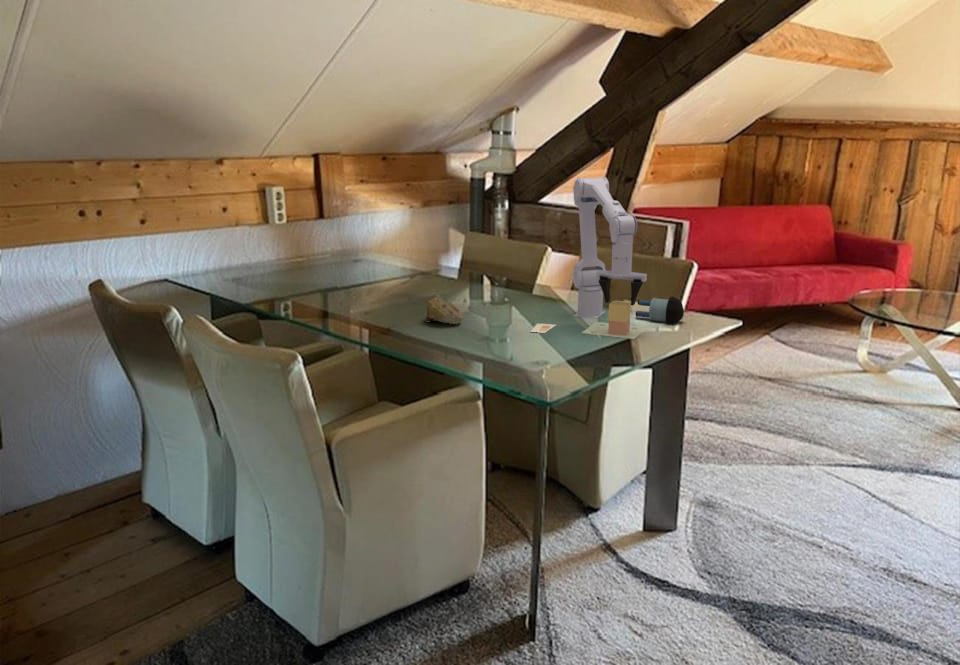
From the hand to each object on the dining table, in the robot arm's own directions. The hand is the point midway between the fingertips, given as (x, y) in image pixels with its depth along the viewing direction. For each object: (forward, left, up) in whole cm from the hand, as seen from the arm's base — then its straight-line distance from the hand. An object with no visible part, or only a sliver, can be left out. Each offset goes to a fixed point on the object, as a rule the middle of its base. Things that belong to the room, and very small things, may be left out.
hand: (620, 303), depth 216 cm
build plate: (-2, -2, -9) cm, 10 cm away
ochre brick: (0, 0, -5) cm, 5 cm away
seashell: (+10, -54, -10) cm, 56 cm away
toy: (-18, +7, -10) cm, 22 cm away
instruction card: (+4, -22, -9) cm, 24 cm away
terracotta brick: (0, 0, -9) cm, 9 cm away
